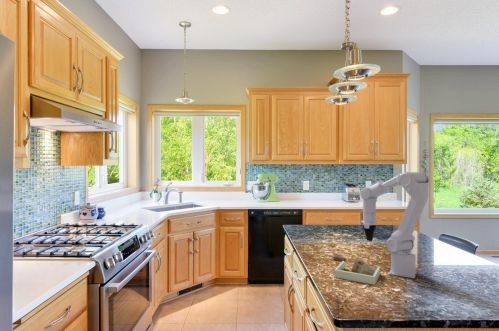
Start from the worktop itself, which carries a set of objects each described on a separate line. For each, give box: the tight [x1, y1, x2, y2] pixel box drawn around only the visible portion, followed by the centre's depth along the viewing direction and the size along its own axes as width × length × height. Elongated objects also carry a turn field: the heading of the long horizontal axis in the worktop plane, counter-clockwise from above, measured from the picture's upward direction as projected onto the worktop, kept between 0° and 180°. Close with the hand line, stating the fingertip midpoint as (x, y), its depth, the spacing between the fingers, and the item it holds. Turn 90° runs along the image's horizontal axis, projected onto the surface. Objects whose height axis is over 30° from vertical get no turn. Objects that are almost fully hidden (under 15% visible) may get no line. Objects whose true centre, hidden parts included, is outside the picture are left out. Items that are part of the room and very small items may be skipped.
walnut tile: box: [332, 253, 345, 262], centre depth 145 cm, size 5×5×2 cm
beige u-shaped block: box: [333, 260, 381, 286], centre depth 124 cm, size 16×13×3 cm
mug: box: [350, 257, 377, 276], centre depth 124 cm, size 8×10×10 cm
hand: (369, 240), depth 141 cm, fingers closed
